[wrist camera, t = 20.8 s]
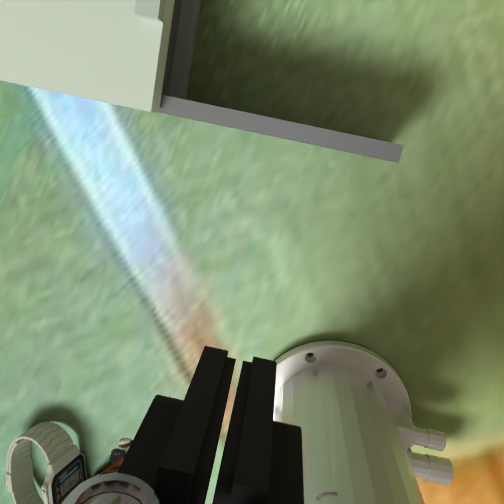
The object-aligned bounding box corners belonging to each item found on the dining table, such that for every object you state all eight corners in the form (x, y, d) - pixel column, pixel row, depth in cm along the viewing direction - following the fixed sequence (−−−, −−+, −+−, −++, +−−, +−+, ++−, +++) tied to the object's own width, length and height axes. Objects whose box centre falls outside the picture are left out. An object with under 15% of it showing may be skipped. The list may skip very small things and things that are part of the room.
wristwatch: (94, 505, 44) (70, 552, 39) (29, 503, 44) (-4, 550, 39) (80, 417, 41) (52, 456, 36) (11, 417, 42) (-26, 455, 37)
